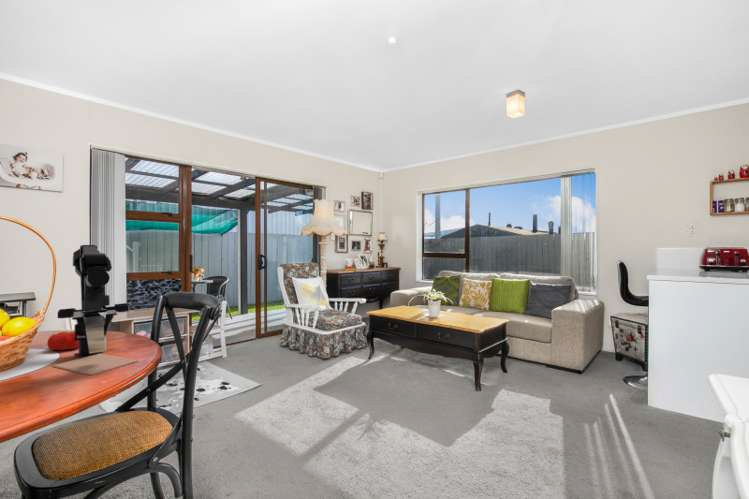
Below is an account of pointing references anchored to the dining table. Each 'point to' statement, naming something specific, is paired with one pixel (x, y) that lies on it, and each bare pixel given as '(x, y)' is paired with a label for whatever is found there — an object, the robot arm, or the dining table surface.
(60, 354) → the dining table surface
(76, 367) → the rubber mat
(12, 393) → the dining table surface
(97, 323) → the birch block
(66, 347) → the tomato
